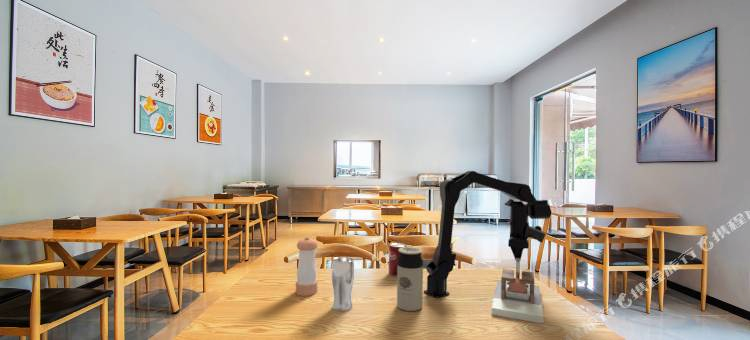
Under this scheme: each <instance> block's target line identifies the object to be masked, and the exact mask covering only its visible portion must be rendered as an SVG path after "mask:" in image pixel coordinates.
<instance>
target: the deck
mask: <svg viewBox="0 0 750 340" xmlns="http://www.w3.org/2000/svg"><path fill="white" fill-rule="evenodd" d="M507 285H509V281H506V290H507ZM526 287H527V288H528V291H529V301H527V300H521V299H514V298H508V297H506V290H505V298H504V299H501V280H497V281H496V285H495V290H494V296H493V300H492V304H491V305H492V306H491V315H492V316H493V315H494V316H498V317H504V318H510V319H514V320H515V319H516V320H522V321H526V322H527V321H528V322H531V323H532V322H533V323H539V324H544V317H545V316H544V310H543V304H542V297H541V296H542V295H541V291H540V285H536V284H534V304H530V284H526Z"/></svg>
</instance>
